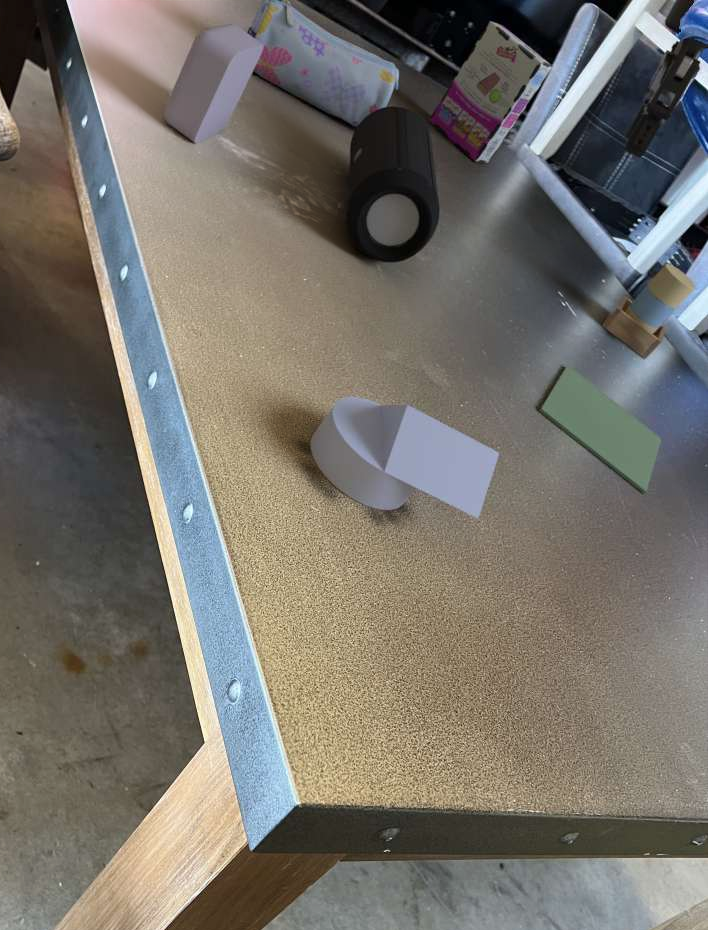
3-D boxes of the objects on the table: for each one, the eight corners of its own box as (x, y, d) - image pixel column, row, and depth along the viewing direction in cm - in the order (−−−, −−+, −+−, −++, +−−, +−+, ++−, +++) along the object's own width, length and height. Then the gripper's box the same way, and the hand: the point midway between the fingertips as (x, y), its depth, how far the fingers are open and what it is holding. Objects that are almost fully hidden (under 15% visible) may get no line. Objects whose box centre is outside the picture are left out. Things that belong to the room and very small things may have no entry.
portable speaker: (335, 159, 121) (378, 83, 115) (401, 199, 124) (447, 127, 118) (327, 243, 103) (378, 158, 96) (405, 287, 105) (460, 207, 99)
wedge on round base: (444, 478, 82) (312, 411, 79) (493, 420, 78) (356, 347, 74) (452, 547, 76) (308, 478, 72) (506, 488, 71) (356, 411, 68)
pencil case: (231, 67, 125) (266, -8, 119) (234, 46, 131) (267, -26, 125) (368, 147, 131) (407, 80, 125) (365, 124, 138) (402, 59, 131)
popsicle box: (488, 164, 157) (555, 67, 146) (474, 163, 153) (542, 63, 143) (441, 122, 159) (503, 23, 149) (426, 120, 156) (489, 18, 145)
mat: (659, 441, 113) (661, 438, 113) (643, 494, 101) (646, 491, 101) (565, 367, 114) (567, 364, 114) (538, 411, 101) (541, 408, 101)
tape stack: (643, 341, 136) (697, 283, 129) (639, 351, 132) (694, 291, 125) (615, 319, 136) (667, 260, 129) (610, 329, 132) (663, 268, 126)
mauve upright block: (190, 105, 109) (230, 16, 103) (224, 129, 109) (266, 43, 103) (154, 119, 101) (195, 24, 95) (191, 145, 102) (234, 53, 95)
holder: (650, 344, 136) (666, 328, 135) (645, 359, 131) (661, 342, 129) (609, 312, 137) (624, 295, 135) (601, 325, 131) (617, 308, 129)
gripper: (761, 11, 95) (663, 173, 105) (749, 2, 106) (662, 150, 116) (691, -22, 95) (600, 144, 105) (687, -27, 106) (605, 123, 116)
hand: (633, 147), depth 110 cm, fingers open, 8 cm apart
